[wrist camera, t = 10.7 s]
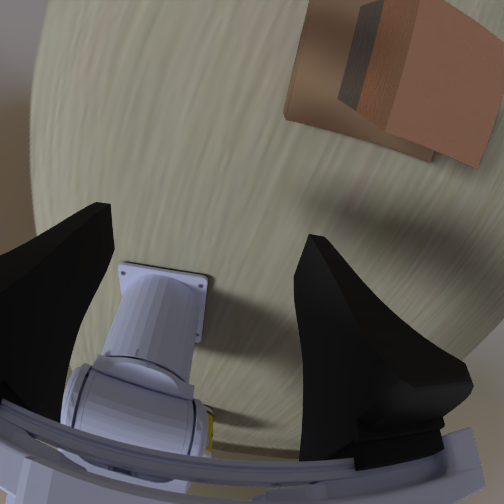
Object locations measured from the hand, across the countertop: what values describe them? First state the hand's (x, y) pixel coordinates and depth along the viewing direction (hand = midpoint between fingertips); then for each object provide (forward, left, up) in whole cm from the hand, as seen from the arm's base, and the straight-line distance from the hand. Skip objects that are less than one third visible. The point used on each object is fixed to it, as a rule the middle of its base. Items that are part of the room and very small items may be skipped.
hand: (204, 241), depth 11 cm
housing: (+8, -8, -8) cm, 14 cm away
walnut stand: (+8, -8, -10) cm, 15 cm away
